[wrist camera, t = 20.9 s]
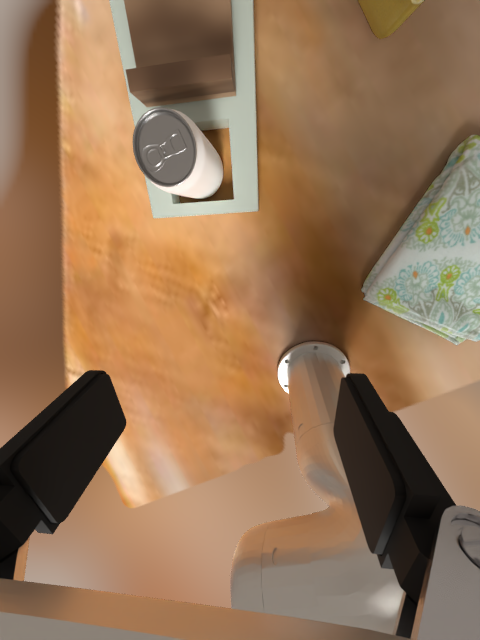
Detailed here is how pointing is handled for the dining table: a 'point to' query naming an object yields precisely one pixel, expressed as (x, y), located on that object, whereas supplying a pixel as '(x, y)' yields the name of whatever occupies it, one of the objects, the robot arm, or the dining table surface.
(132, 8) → the lid
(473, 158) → the towel
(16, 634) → the robot arm
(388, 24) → the flower pot
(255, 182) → the well board
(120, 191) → the dining table surface
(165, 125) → the can
